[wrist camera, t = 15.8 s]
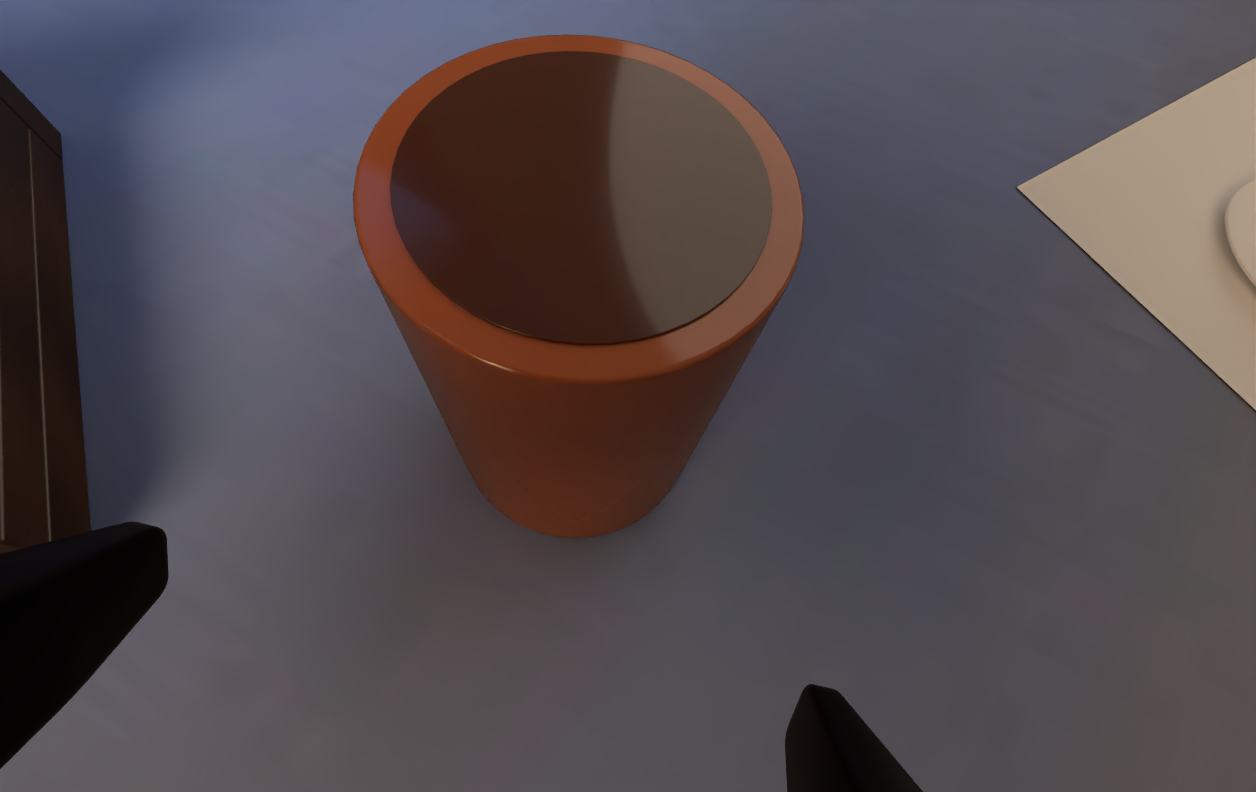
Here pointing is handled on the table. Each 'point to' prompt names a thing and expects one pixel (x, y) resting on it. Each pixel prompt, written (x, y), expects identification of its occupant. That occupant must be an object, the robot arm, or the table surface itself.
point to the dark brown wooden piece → (36, 338)
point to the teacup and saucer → (1176, 218)
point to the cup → (577, 263)
